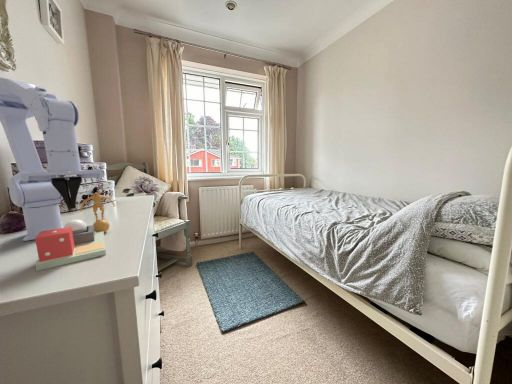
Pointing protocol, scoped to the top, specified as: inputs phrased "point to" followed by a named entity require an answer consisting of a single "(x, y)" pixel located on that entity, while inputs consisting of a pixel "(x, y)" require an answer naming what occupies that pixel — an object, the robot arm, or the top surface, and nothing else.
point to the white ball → (76, 226)
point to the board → (78, 253)
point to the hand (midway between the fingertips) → (72, 208)
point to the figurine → (99, 224)
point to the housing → (85, 236)
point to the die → (55, 243)
